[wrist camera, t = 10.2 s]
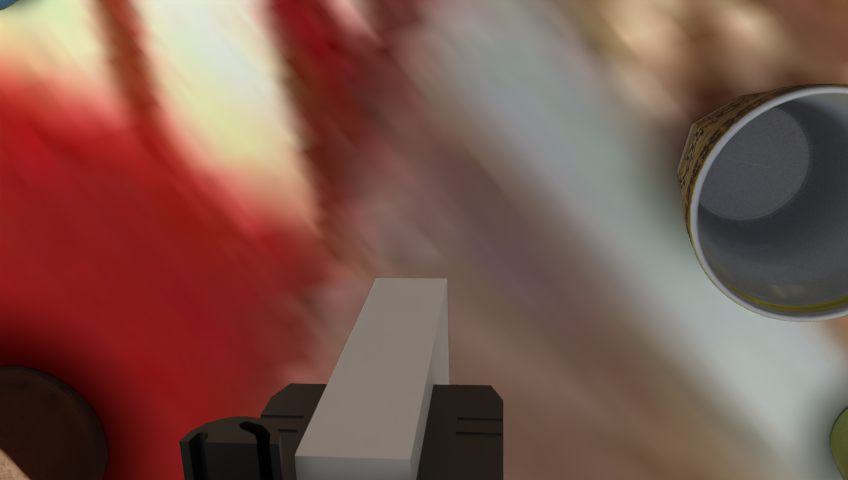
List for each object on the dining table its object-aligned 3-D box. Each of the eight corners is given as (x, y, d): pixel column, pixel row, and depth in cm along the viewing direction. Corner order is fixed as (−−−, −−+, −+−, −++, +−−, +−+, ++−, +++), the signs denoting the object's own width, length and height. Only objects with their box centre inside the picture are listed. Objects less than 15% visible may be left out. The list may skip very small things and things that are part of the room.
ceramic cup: (623, 227, 42) (658, 293, 32) (679, 45, 39) (736, 59, 29) (856, 279, 41) (961, 362, 32) (931, 100, 38) (1072, 132, 29)
